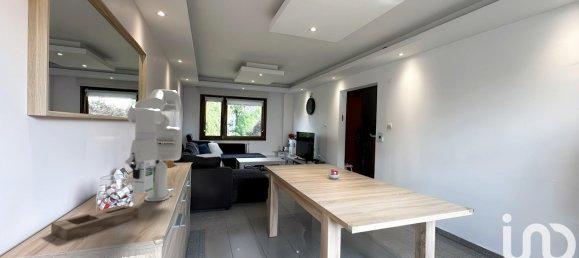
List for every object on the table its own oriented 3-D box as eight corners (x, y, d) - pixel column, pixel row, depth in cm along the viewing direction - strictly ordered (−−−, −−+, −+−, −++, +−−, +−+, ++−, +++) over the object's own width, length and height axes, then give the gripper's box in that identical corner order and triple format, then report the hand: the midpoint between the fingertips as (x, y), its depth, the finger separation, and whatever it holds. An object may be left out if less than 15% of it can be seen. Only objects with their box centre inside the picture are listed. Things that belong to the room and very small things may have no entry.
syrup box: (144, 194, 103) (145, 160, 102) (132, 192, 104) (133, 159, 103) (154, 190, 108) (155, 158, 108) (143, 189, 109) (144, 157, 109)
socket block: (51, 233, 93) (51, 223, 93) (122, 212, 116) (122, 204, 116) (67, 240, 88) (67, 229, 88) (137, 217, 111) (138, 208, 111)
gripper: (157, 135, 114) (156, 172, 115) (119, 136, 99) (118, 179, 99) (168, 136, 111) (167, 174, 112) (130, 138, 96) (129, 182, 96)
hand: (144, 176), depth 106 cm, fingers closed on syrup box, 6 cm apart
